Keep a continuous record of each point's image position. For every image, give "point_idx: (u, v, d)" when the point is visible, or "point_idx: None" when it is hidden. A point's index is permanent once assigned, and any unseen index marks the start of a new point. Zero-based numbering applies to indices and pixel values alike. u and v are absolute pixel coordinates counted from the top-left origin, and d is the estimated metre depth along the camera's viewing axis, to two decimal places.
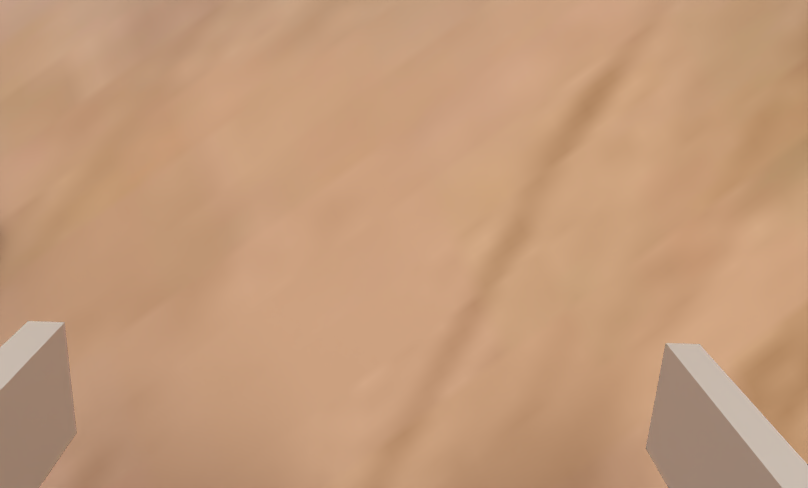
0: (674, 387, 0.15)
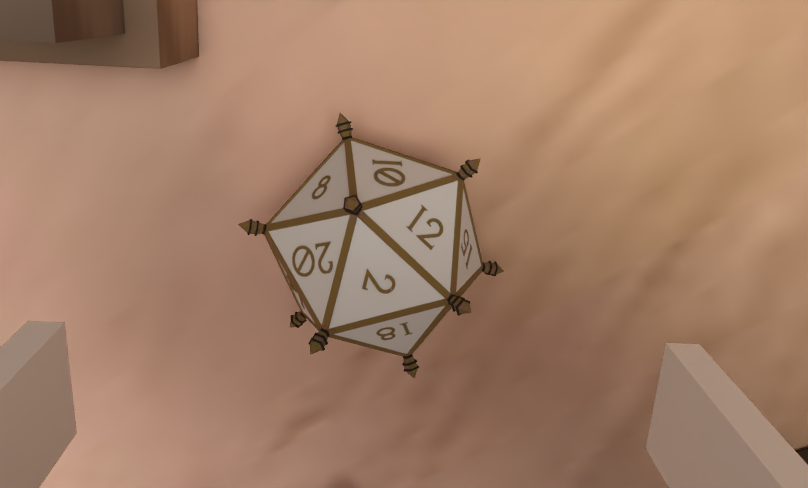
0: (674, 387, 0.15)
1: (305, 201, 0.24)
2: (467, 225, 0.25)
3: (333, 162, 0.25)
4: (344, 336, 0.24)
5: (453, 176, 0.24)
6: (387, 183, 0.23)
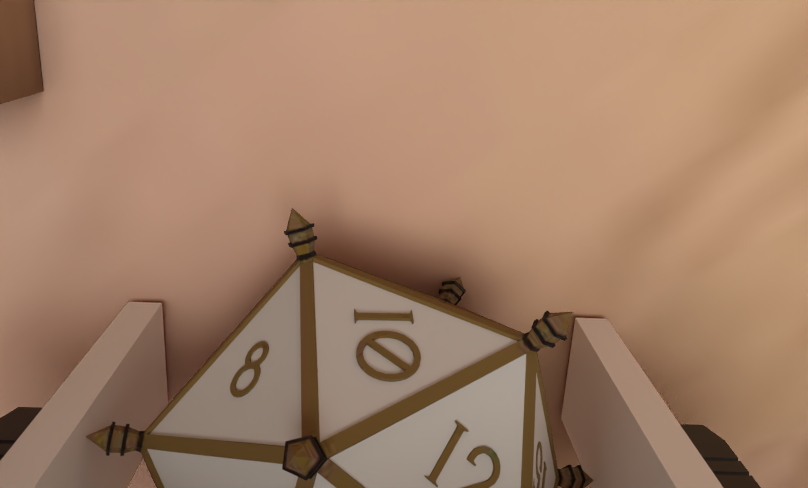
0: (580, 358, 0.16)
1: (219, 396, 0.12)
2: (540, 431, 0.13)
3: (277, 309, 0.13)
4: None
5: (517, 346, 0.12)
6: (384, 373, 0.11)
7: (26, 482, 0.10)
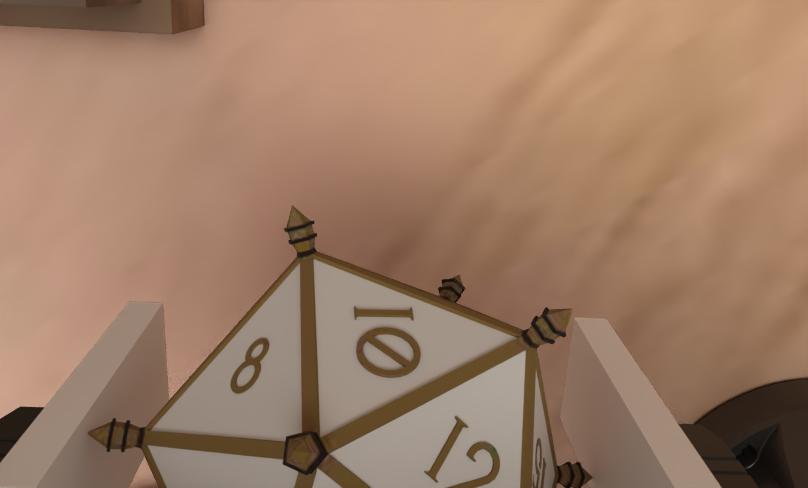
0: (579, 358, 0.16)
1: (220, 392, 0.12)
2: (539, 427, 0.13)
3: (277, 306, 0.13)
4: None
5: (517, 343, 0.12)
6: (384, 369, 0.11)
7: (29, 481, 0.11)
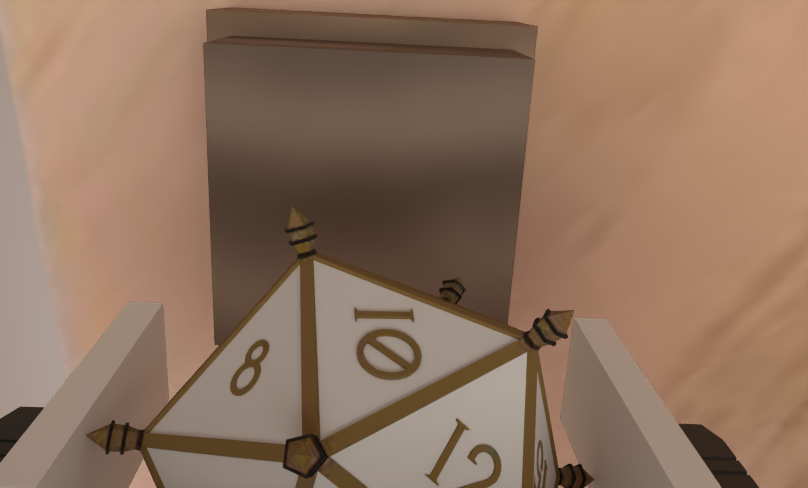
0: (579, 358, 0.16)
1: (219, 394, 0.12)
2: (541, 429, 0.13)
3: (277, 308, 0.13)
4: None
5: (518, 344, 0.12)
6: (385, 371, 0.11)
7: (28, 481, 0.11)
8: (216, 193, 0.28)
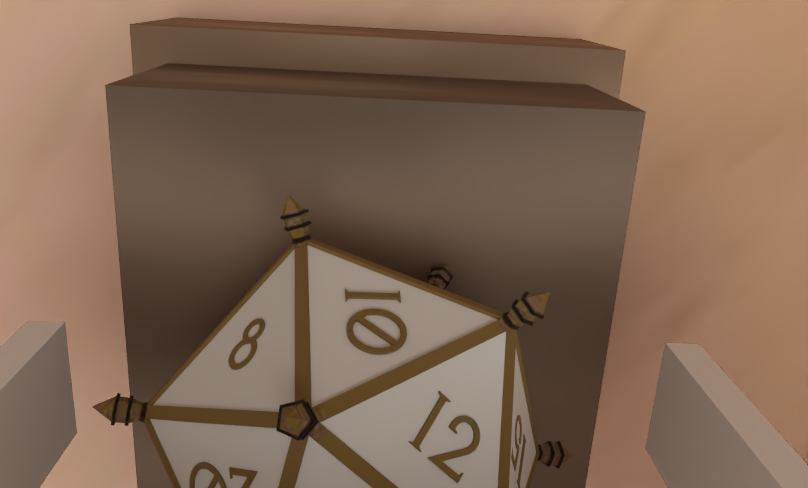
0: (674, 387, 0.15)
1: (218, 368, 0.13)
2: (519, 405, 0.14)
3: (273, 289, 0.13)
4: None
5: (498, 324, 0.13)
6: (372, 346, 0.12)
7: None
8: (136, 317, 0.18)
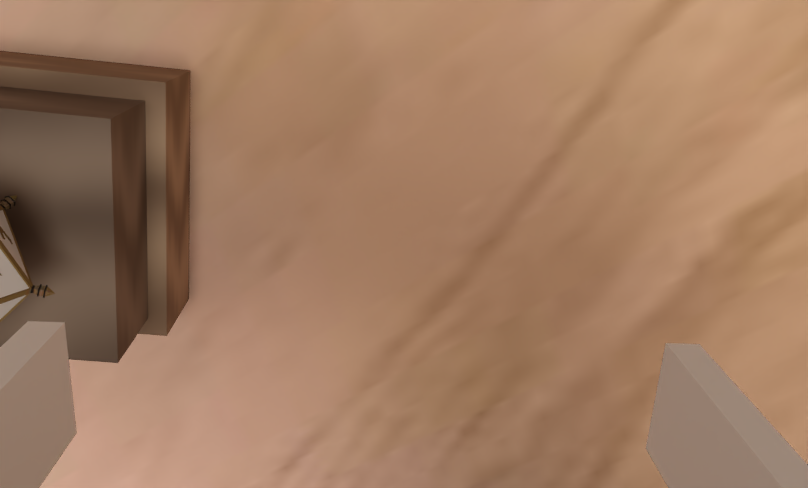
0: (674, 387, 0.15)
1: None
2: None
3: None
4: None
5: None
6: None
7: None
8: None
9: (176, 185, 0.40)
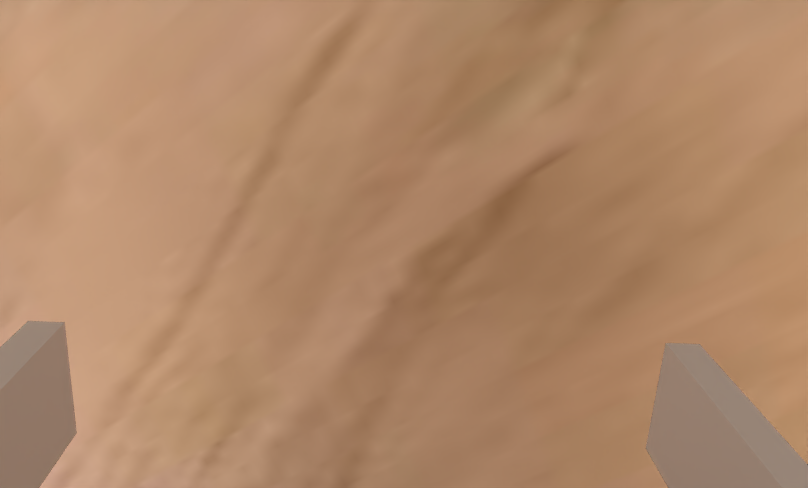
0: (674, 387, 0.15)
1: None
2: None
3: None
4: None
5: None
6: None
7: None
8: None
9: None
